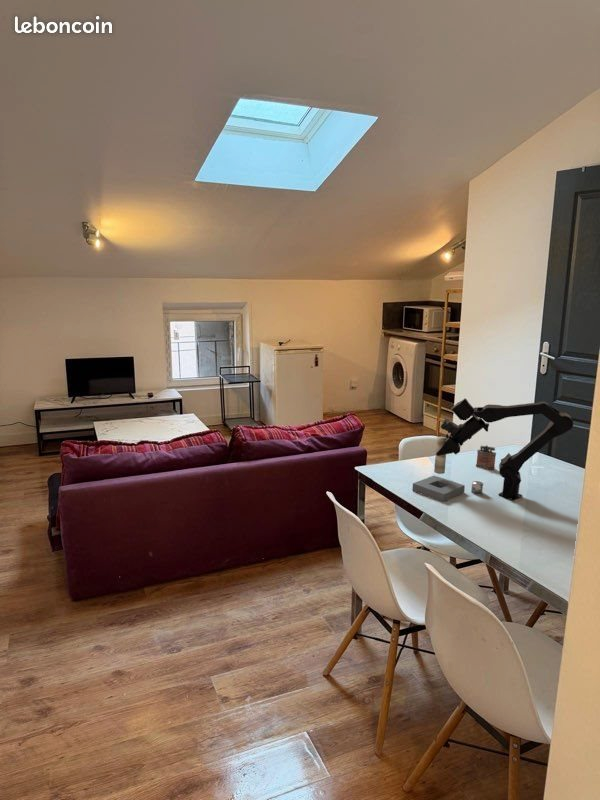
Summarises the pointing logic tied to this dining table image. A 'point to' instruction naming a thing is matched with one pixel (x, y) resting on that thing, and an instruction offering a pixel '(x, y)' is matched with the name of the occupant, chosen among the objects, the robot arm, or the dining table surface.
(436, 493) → the plate
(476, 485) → the steel stub
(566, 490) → the dining table surface
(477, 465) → the lighter
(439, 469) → the birch pin
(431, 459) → the dining table surface
